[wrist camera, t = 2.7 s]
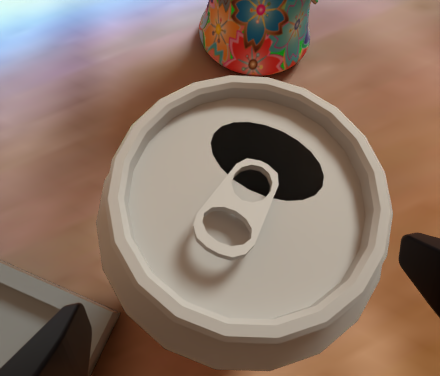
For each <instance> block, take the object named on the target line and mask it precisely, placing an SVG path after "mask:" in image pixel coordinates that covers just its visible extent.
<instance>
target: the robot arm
mask: <svg viewBox="0 0 440 376" xmlns="http://www.w3.org/2000/svg"><path fill="white" fill-rule="evenodd" d="M399 263H400V266H401V267H402V269H403V270H404V272H405V273H406V274H407V276H408V277H409V278H410V280H411V281H412V282H413V284H414V285H415V286H416V288H417V289H418V290H419V292H420V293H421V294H422V296H423V297H424V298H425V300H426V301H427V303H428V304H429V305H430V306H431V308H432V309H433V310H434V312H435V313H436V314H437V315H438V316H439V318H440V238H436V237H433V236H429V235H425V234H422V233H412V234H407V235H404V236H403V237H402V239H401V245H400V252H399ZM91 342H92V327H91V324H90V321H89V318H88V316H87V313H86V310H85V308H84V306H83V304H82V303H74V304H69V305H65V306H64V307H62V308H61V309H60V310H59V311H58V312H57V313H56V314H55V315H54V316H53V317H52V318H51V319H50V320H49V321H48V322H47V323H46V324H45V325H44V326H43V327H42V328H41V329H40V330H39V331H38V332H37V333H36V334H35V335H34V336H33V337H32V338H31V339H30V340H29V341H28V342H27V343H26V344H25V345H24V346H22V347H21V348H20V349H19V350H18V351H17V352H16V353H15V354H14V355H13V356H12V357H11V358H10V359H9V360H8V361H7V362H6V363H5V364H4V365H3V366H2V367H1V368H0V376H88V372H89V362H90V352H91Z"/></svg>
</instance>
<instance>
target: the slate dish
mask: <svg viewBox="0 0 440 376" xmlns="http://www.w3.org/2000/svg"><path fill="white" fill-rule="evenodd" d="M74 303H82V304H83V306H84V308H85V310H86V313H87V316H88V318H89V321H90V324H91V327H92V342H91V352H90V362H89V372H88V376H90V375H91V373H92V371H93V369H94V367H95V365H96V363H97V361H98V359H99V357H100V355H101V353H102V351H103V349H104V346H105V344H106V342H107V340H108V338H109V336H110V334H111V332H112V330H113V328H114V326H115V324H116V322H117V320H118V318H119V315H120V312H118V311H115V310H113V309H111V308H109V307H106V306H104V305H102V304H100V303H97V302H95V301H93V300H90V299H88V298H86V297H84V296H81V295H79V294H77V293H74V292H72V291H70V290H68V289H65V288H63V287H61V286H59V285H56V284H54V283H52V282H49V281H47V280H45V279H43V278H40V277H38V276H36V275H33V274H31V273H29V272H27V271H24V270H22V269H20V268H18V267H15V266H13V265H11V264H8V263H6V262H4V261H2V260H0V368H1V367H2V366H3V365H4V364H5V363H6V362H7V361H8V360H9V359H10V358H11V357H12V356H13V355H14V354H15V353H16V352H17V351H18V350H19V349H20V348H21V347H22V346H24V345H25V344H26V343H27V342H28V341H29V340H30V339H31V338H32V337H33V336H34V335H35V334H36V333H37V332H38V331H39V330H40V329H41V328H42V327H43V326H44V325H45V324H46V323H47V322H48V321H49V320H50V319H51V318H52V317H53V316H54V315H55V314H56V313H57V312H58V311H59V310H60V309H61V308H62V307H64V306H65V305H69V304H74Z"/></svg>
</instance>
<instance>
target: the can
mask: <svg viewBox="0 0 440 376" xmlns="http://www.w3.org/2000/svg"><path fill="white" fill-rule="evenodd" d="M392 216H393V211H392V206H391V201H390V196H389V191H388V186H387V181H386V175H385V172H384V170H383V168H382V166H381V164H380V162H379V161H378V159H377V157H376V155H375V153H374V151H373V150H372V148H371V146H370V144H369V142H368V140H367V139H366V137H365V136H364V135H363V134H362V133H361V132H360V131H359V130H358V129H357V127H356V126H355V125H354V124H353V123H352V122H351V121H350V120H349V119H348V118H347V117H346V116H345V115H344V114H343V113H342V112H341V111H340V110H339V109H338V108H336V107H335V106H333V105H331V104H330V103H328V102H326V101H325V100H323V99H321V98H320V97H318V96H316V95H315V94H313V93H311V92H310V91H308V90H306V89H305V88H301V87H298V86H295V85H292V84H288V83H285V82H282V81H279V80H275V79H272V78H269V77H254V76H235V75H229V76H224V77H219V78H214V79H209V80H204V81H199V82H194V83H192V84H190V85H187V86H185V87H183V88H181V89H179V90H177V91H175V92H173V93H171V94H169V95H167V96H165V97H163V98H161V99H159V100H158V101H157V102H156V103H155V104H154V105H153V106H152V107H151V108H150V109H149V110H147V111H146V112H145V113H144V114H143V115H142V116H141V117H140V118H139V119H138V120H137V121H135V122H134V123H133V124H132V125H131V127H130V129H129V131H128V132H127V134H126V136H125V138H124V139H123V141H122V143H121V145H120V146H119V148H118V150H117V152H116V153H115V155H114V157H113V159H112V162H111V167H110V172H109V173H108V175H107V177H106V179H105V180H104V185H103V190H102V195H101V200H100V206H99V211H98V216H97V221H96V226H97V233H98V240H99V247H100V254H101V261H102V268H103V271H104V273H105V275H106V277H107V278H108V280H109V282H110V284H111V286H112V288H113V290H114V292H115V294H116V296H117V297H118V299H119V301H120V303H121V305H122V307H123V309H124V311H125V313H126V314H127V315H128V316H129V317H130V318H132V319H133V320H134V321H135V322H136V323H137V324H138V325H139V326H140V327H141V328H143V329H144V330H145V331H146V332H147V333H148V334H149V335H150V336H151V337H152V338H154V339H155V340H156V341H157V342H158V343H159V344H160V345H161V346H162V347H163V348H165V349H167V350H169V351H171V352H174V353H176V354H179V355H181V356H184V357H186V358H189V359H191V360H193V361H196V362H198V363H201V364H203V365H206V366H208V367H211V368H213V369H217V370H251V371H271V370H274V369H277V368H280V367H283V366H286V365H289V364H291V363H294V362H297V361H300V360H303V359H306V358H308V357H311V356H314V355H317V354H320V353H321V352H322V351H323V350H324V349H325V348H327V347H328V346H329V345H330V344H331V343H332V342H334V341H335V340H336V339H337V338H338V337H339V336H341V335H342V334H343V333H344V332H345V331H346V330H348V329H349V328H350V327H351V326H352V325H353V324H355V323H356V322H357V321H358V319H359V317H360V315H361V314H362V312H363V310H364V308H365V306H366V304H367V302H368V301H369V299H370V297H371V295H372V293H373V291H374V289H375V288H376V286H377V284H378V282H379V280H380V275H381V268H382V264H383V262H384V260H385V258H386V257H387V252H388V245H389V238H390V230H391V223H392Z"/></svg>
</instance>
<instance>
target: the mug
mask: <svg viewBox="0 0 440 376" xmlns="http://www.w3.org/2000/svg"><path fill="white" fill-rule="evenodd" d="M311 1H312V2H313V3H314V4H316V3H317V2H318V0H209V2H208V5H207V8H206V10H205V12H204V13H203V15H202V18H201V21H200V25H199V34H200V39H201V42H202V44H203V47H204V48H205V50H206V51H207V53H208V54H209V55H210V56H211V57H212V58H213V59H214V60H215V61H216V62H218V63H219V64H220V65H222V66H224V67H226V68H228V69H230V70H232V71H235V72H238V73H241V74H246V75H255V76H262V75H271V74H275V73H279V72H282V71H284V70H286V69H288V68H290V67H292V66H293V65H295V64H296V63H297V62H298V61H299V60H300V59H301V58H302V57H303V56H304V54H305V53H306V51H307V49H308V46H309V42H310V30H309V25H308V16H309V8H310V4H311Z"/></svg>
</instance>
